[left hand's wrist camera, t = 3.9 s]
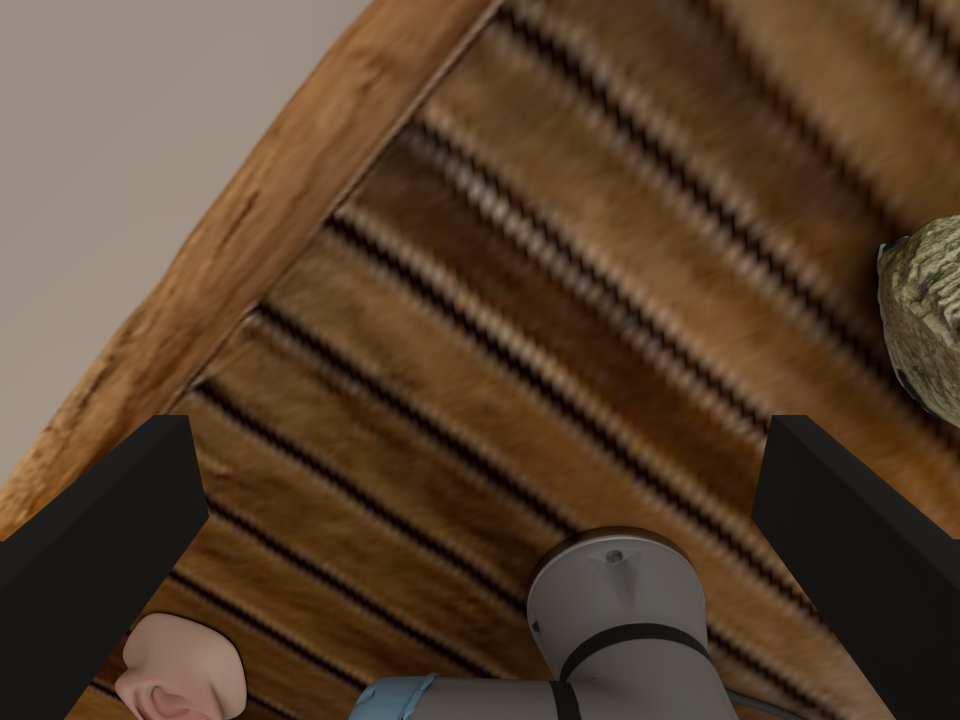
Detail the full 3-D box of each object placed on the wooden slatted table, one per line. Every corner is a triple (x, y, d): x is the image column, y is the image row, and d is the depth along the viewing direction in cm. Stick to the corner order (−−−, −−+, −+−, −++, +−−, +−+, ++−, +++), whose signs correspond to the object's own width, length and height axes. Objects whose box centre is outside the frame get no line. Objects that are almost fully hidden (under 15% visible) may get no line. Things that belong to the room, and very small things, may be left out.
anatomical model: (93, 643, 47) (233, 661, 48) (121, 606, 51) (250, 624, 52) (102, 749, 52) (229, 765, 53) (127, 709, 56) (245, 724, 56)
